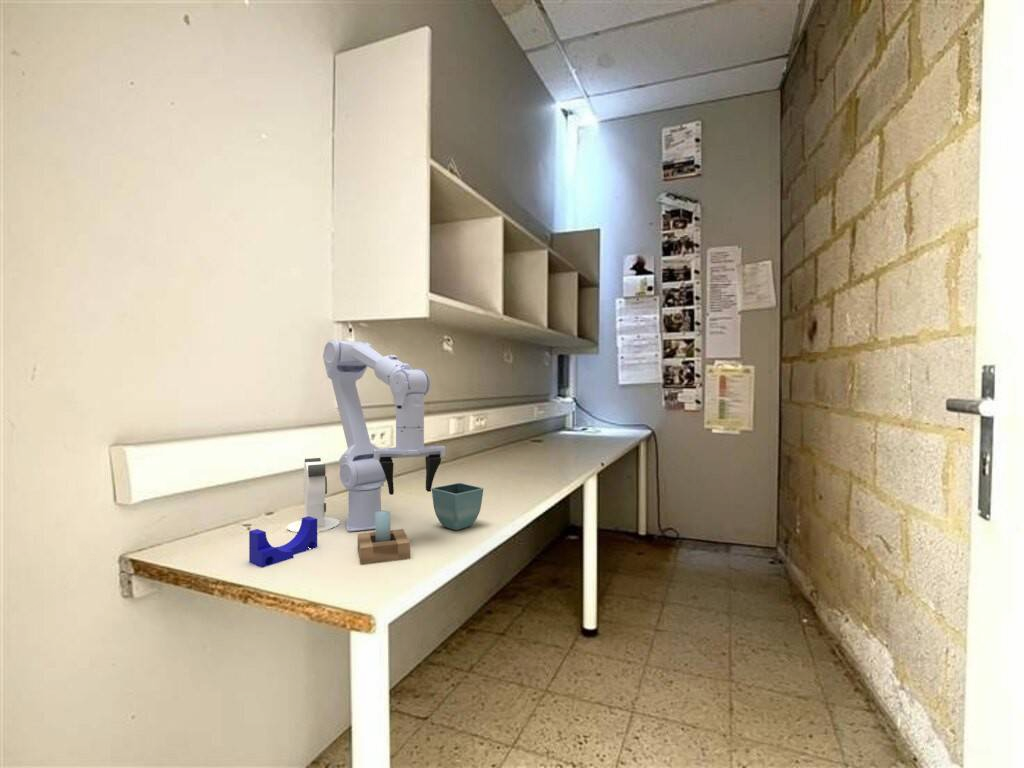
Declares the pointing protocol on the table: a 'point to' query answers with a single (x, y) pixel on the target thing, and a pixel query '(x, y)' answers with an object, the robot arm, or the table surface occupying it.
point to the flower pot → (457, 504)
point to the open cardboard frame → (383, 547)
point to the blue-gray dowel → (382, 526)
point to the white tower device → (315, 496)
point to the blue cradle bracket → (268, 555)
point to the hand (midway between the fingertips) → (410, 492)
